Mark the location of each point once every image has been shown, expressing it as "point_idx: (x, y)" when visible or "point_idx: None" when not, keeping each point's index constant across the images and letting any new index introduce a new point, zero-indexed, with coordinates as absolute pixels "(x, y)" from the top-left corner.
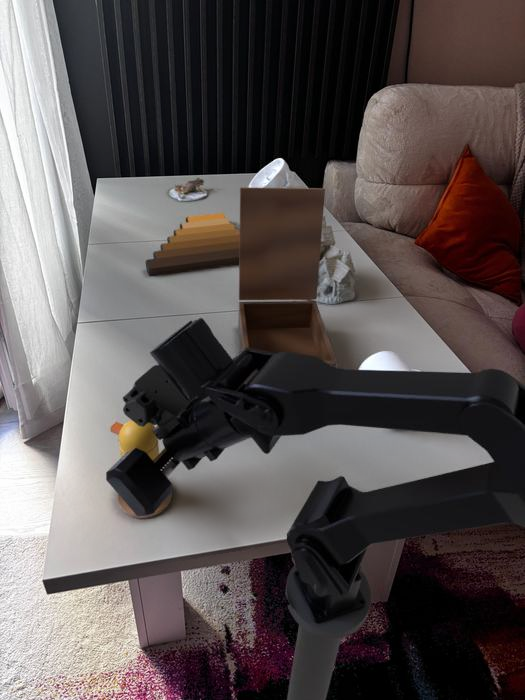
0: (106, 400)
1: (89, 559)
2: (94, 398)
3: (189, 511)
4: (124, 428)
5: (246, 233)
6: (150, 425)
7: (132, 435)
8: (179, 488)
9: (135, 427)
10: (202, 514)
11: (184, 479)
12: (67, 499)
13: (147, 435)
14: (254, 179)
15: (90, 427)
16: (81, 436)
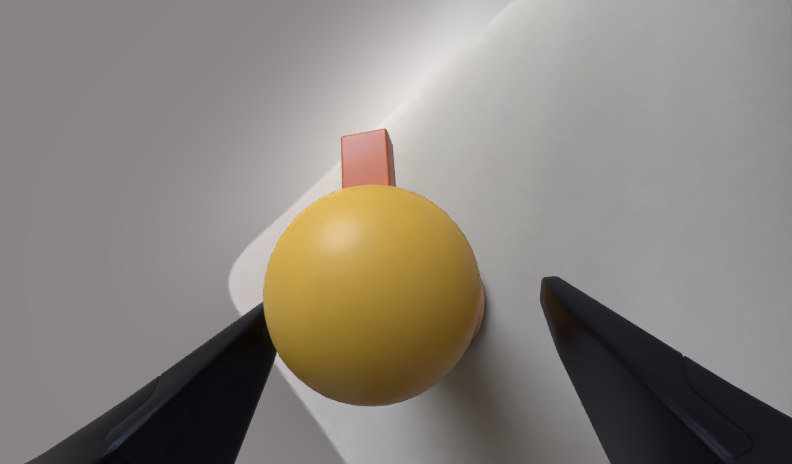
0: (579, 27)
1: None
2: (563, 8)
3: (450, 419)
4: (297, 224)
5: None
6: (416, 352)
7: (269, 313)
8: (489, 351)
9: (306, 295)
10: (463, 457)
11: (520, 344)
12: (335, 181)
13: (337, 392)
14: None
15: (493, 70)
16: (463, 78)
